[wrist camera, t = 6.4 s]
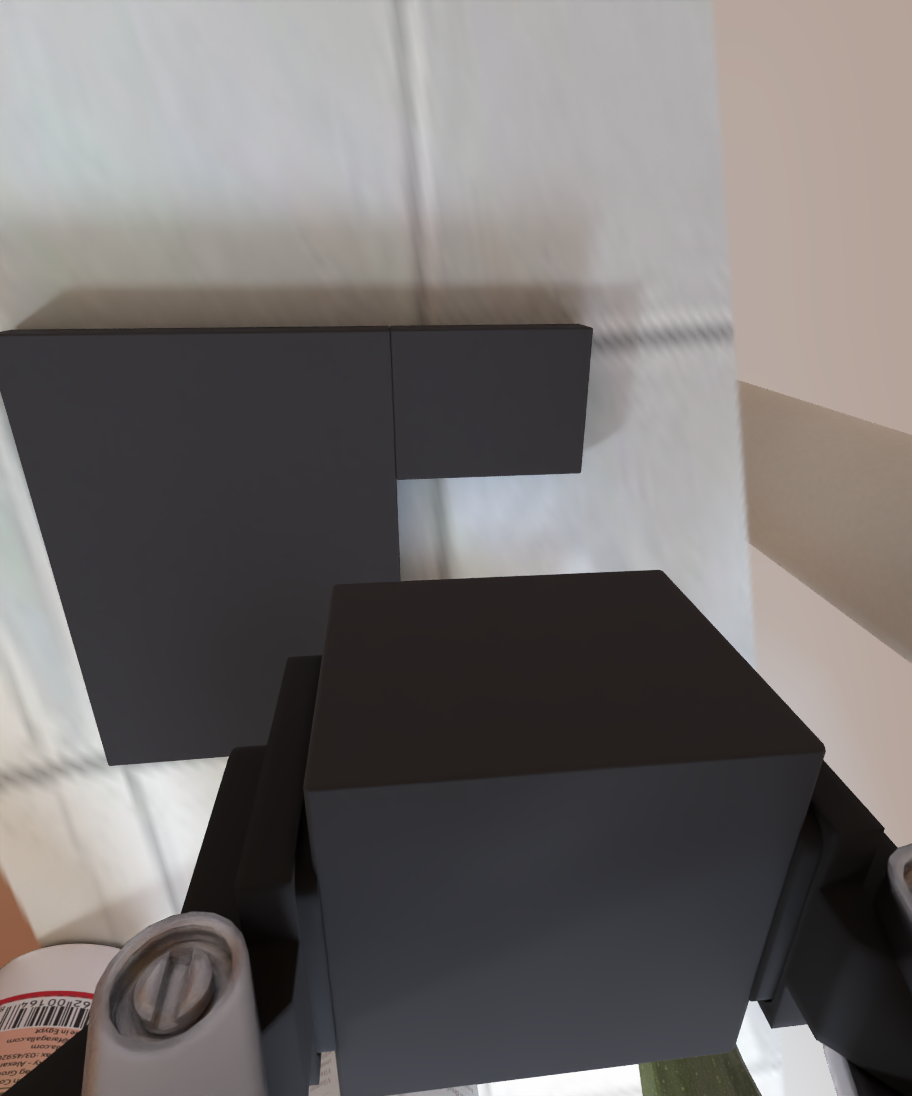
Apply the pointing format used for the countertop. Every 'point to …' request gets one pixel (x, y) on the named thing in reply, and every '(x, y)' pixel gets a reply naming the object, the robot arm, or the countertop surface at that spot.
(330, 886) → the pad piece
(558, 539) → the countertop surface
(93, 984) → the fruit juice
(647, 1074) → the vegetable
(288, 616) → the base pad
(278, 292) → the countertop surface
